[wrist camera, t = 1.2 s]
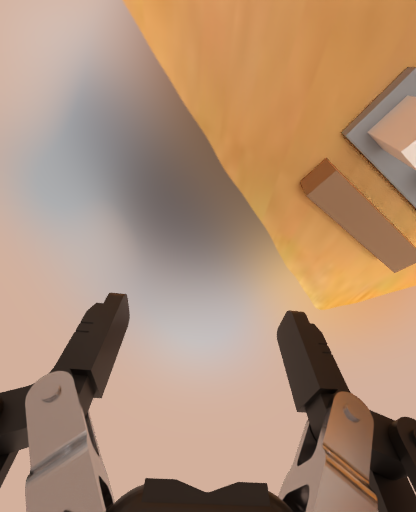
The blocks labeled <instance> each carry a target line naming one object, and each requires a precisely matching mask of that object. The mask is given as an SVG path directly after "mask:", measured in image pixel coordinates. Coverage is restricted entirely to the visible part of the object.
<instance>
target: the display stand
mask: <svg viewBox="0 0 416 512" xmlns="http://www.w3.org/2000/svg"><path fill="white" fill-rule="evenodd" d="M341 133H342V134H343V135H344V136H345V137H346V138H347V139H348V140H349V141H350V142H351V143H352V144H353V145H354V146H355V147H356V148H357V149H358V150H359V151H360V152H361V153H362V154H363V155H364V156H365V157H366V158H367V159H368V160H369V161H370V162H371V163H372V164H373V165H374V167H375V168H376V169H377V170H378V171H379V172H380V173H381V174H382V175H383V176H384V177H385V178H386V179H387V180H388V181H389V182H390V183H391V184H392V185H393V186H394V187H395V188H396V189H397V190H398V191H399V192H400V193H401V194H402V195H403V196H404V197H405V198H406V199H407V200H408V201H409V202H410V203H411V204H412V205H413V206H414V207H415V209H416V67H407V68H406V69H405V70H404V71H403V72H402V73H401V74H400V75H399V76H398V77H397V78H396V79H395V80H394V81H393V82H392V83H391V84H390V85H389V86H388V87H387V88H386V89H385V90H384V91H383V92H382V93H381V94H380V95H379V96H378V97H377V98H376V99H375V100H374V101H373V102H372V103H371V104H370V105H369V106H368V107H367V108H366V109H365V110H364V111H363V112H362V113H361V114H360V115H359V116H358V117H357V118H355V119H354V120H353V121H352V122H351V123H350V124H349V125H348V126H347V127H346V128H345V129H344V130H343V131H342V132H341Z"/></svg>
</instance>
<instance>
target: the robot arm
mask: <svg viewBox="0 0 416 512" xmlns="http://www.w3.org/2000/svg"><path fill="white" fill-rule="evenodd" d="M128 323H129V306H128V298H127V295H126V294H118V293H109V294H108V296H107V298H106V300H105V302H104V304H103V303H96V304H95V305H93V306H92V307H91V308H90V309H89V310H88V311H87V312H86V313H85V315H84V317H83V319H82V321H81V323H80V324H79V326H78V327H77V329H76V332H75V333H74V334H73V336H72V337H71V339H70V341H69V343H68V344H67V346H66V348H65V349H64V351H63V353H62V355H61V356H60V358H59V360H58V362H57V363H56V365H55V366H54V368H53V369H52V370H51V372H50V373H49V374H47V375H45V376H43V377H42V378H40V379H39V380H38V381H37V382H36V383H34V384H32V385H29V386H26V387H23V388H18V389H14V390H10V391H6V392H2V393H0V487H1V485H2V483H3V481H4V479H5V477H6V475H7V473H8V471H9V469H10V467H11V465H12V463H13V461H14V459H15V457H16V455H17V453H18V451H19V450H21V449H24V448H27V447H29V452H30V464H31V470H30V474H29V475H28V477H27V480H26V487H25V496H26V511H27V512H378V511H379V512H416V495H415V493H414V491H413V489H412V487H411V485H410V483H409V481H408V478H407V476H408V477H409V479H410V481H411V483H412V485H413V487H414V489H415V492H416V420H414V419H412V418H409V417H401V418H400V419H398V420H396V421H394V420H392V419H390V418H387V417H385V416H383V415H380V414H378V413H375V412H373V411H371V410H369V409H368V408H367V406H366V405H365V404H364V403H363V402H362V401H361V400H360V399H359V398H357V396H355V395H353V394H351V392H350V391H349V389H348V387H347V385H346V383H345V381H344V378H343V376H342V374H341V372H340V370H339V368H338V366H337V364H336V361H335V359H334V358H333V355H331V351H330V349H329V347H328V346H327V343H326V340H325V338H324V336H323V334H322V332H321V331H320V330H319V329H318V328H317V327H316V326H315V324H310V323H309V321H308V318H307V316H306V314H305V313H304V312H298V311H287V312H286V314H285V316H284V318H283V320H282V322H281V323H280V326H279V327H278V331H277V340H278V344H279V347H280V351H281V355H282V358H283V362H284V366H285V369H286V373H287V377H288V380H289V384H290V388H291V391H292V395H293V399H294V402H295V406H296V410H297V412H306V413H307V416H308V421H307V422H306V426H305V428H304V431H303V434H302V438H301V441H300V444H299V447H298V450H297V453H296V456H295V459H294V462H293V465H292V467H291V469H290V471H289V472H288V474H287V475H286V478H285V479H284V482H283V484H282V487H281V490H280V493H279V496H278V497H277V496H276V495H274V494H273V493H271V492H269V491H268V487H267V483H247V482H246V483H245V482H237V483H234V484H231V485H229V486H226V487H223V488H220V489H217V490H215V491H212V492H204V491H201V490H199V489H197V488H194V487H192V486H189V485H188V484H185V483H183V482H180V481H178V480H174V479H150V478H146V479H145V484H144V485H141V486H139V487H136V488H134V489H132V490H130V491H129V492H128V493H126V494H125V495H123V496H122V497H121V498H120V499H118V500H117V501H116V502H114V498H113V494H112V490H111V486H110V483H109V479H108V476H107V472H106V470H105V466H104V464H103V461H102V458H101V454H100V451H99V447H98V444H97V440H96V436H95V432H94V429H93V425H92V421H91V418H90V414H89V407H90V405H91V402H92V399H93V398H102V395H103V393H104V390H105V387H106V385H107V382H108V379H109V376H110V374H111V371H112V368H113V365H114V363H115V360H116V357H117V354H118V351H119V349H120V346H121V343H122V341H123V338H124V335H125V332H126V330H127V327H128Z"/></svg>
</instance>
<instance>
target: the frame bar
mask: <svg viewBox="0 0 416 512" xmlns="http://www.w3.org/2000/svg"><path fill="white" fill-rule="evenodd" d="M300 183H301V185H302V188H303V190H304V192H305V194H306V196H307V197H308V198H309V199H310V200H312V201H313V202H314V203H315V204H316V205H317V206H318V207H320V208H321V209H322V210H323V211H324V212H325V213H326V214H328V215H329V216H330V217H331V218H332V219H333V220H334V221H336V222H337V223H338V224H339V225H340V226H341V227H342V228H344V229H345V230H346V231H347V232H348V233H349V234H350V235H352V236H353V237H354V238H355V239H356V240H357V241H358V242H360V243H361V244H362V245H363V246H364V247H365V248H366V249H368V250H369V251H370V252H371V253H372V254H373V255H375V256H376V257H377V258H378V259H379V260H380V261H381V262H383V263H384V264H385V265H386V266H387V267H388V268H389V269H391V270H392V271H393V272H394V273H396V272H398V271H400V270H402V269H404V268H406V267H408V266H410V265H413V264H415V263H416V248H415V247H414V245H413V244H412V243H411V242H410V241H409V240H408V239H407V238H406V237H405V236H404V235H403V234H402V233H401V232H400V231H399V230H398V229H397V228H396V227H395V226H394V225H393V224H392V223H391V222H390V221H389V220H388V219H387V218H386V217H385V216H384V215H383V214H382V213H381V212H380V211H379V210H378V209H377V208H376V207H375V206H374V205H373V204H372V203H371V202H370V201H369V200H368V199H367V198H366V197H365V196H364V195H363V194H362V193H361V192H360V191H359V190H358V189H357V188H356V187H355V186H354V185H353V184H352V183H351V182H350V181H349V180H348V179H347V178H346V177H345V176H344V175H343V174H342V173H341V172H340V171H339V170H338V169H337V168H336V167H335V166H334V165H333V164H332V163H331V162H330V161H329V160H328V159H327V158H325V159H324V160H323V161H322V162H321V163H320V164H319V165H318V166H317V167H316V168H315V169H314V170H312V171H311V172H310V173H309V174H308V175H307V176H306V177H305V178H304V179H303V180H302V181H301V182H300Z"/></svg>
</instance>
